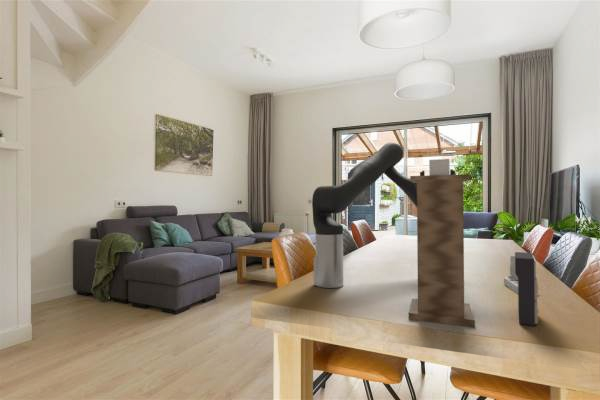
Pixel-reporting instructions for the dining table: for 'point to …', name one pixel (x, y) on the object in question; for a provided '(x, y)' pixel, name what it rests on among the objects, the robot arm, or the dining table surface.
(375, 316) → the dining table surface
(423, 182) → the wooden pedestal stand
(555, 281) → the dining table surface
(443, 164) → the white cylinder with crossbar
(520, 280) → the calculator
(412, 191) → the robot arm
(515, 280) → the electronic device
